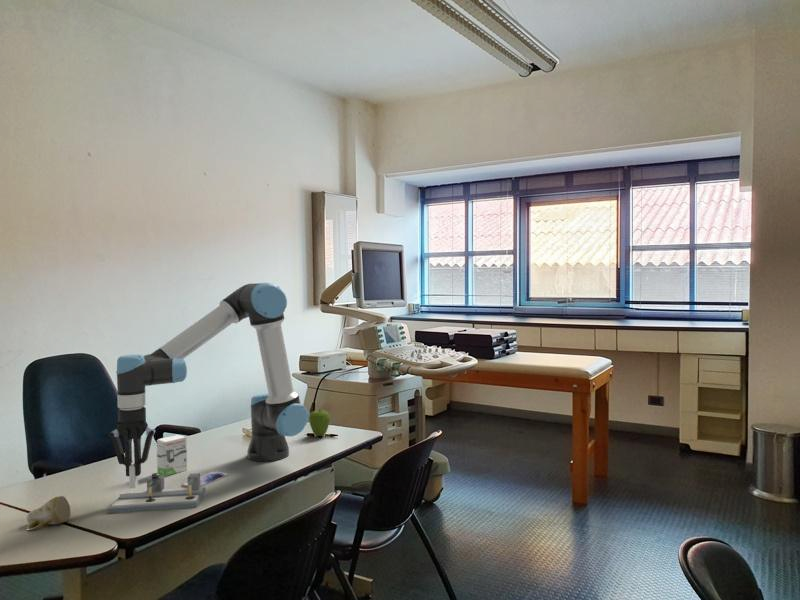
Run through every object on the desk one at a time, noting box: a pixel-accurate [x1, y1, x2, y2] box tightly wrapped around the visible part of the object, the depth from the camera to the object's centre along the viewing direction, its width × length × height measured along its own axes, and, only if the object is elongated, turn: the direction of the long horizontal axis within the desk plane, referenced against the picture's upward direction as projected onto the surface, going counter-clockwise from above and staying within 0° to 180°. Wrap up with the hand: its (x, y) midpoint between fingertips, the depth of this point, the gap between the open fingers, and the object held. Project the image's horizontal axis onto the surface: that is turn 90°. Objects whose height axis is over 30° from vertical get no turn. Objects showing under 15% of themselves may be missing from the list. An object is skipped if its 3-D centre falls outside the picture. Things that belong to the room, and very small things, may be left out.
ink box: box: [156, 434, 188, 477], centre depth 197 cm, size 9×5×12 cm, turn 141°
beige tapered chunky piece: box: [26, 495, 71, 531], centre depth 155 cm, size 8×10×10 cm
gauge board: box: [107, 473, 207, 514], centre depth 170 cm, size 24×13×6 cm, turn 98°
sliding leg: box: [146, 472, 165, 499], centre depth 170 cm, size 4×8×5 cm, turn 8°
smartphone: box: [180, 470, 230, 488], centre depth 188 cm, size 7×1×15 cm
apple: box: [308, 409, 331, 437], centre depth 241 cm, size 9×8×12 cm
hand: (133, 486), depth 171 cm, fingers closed
